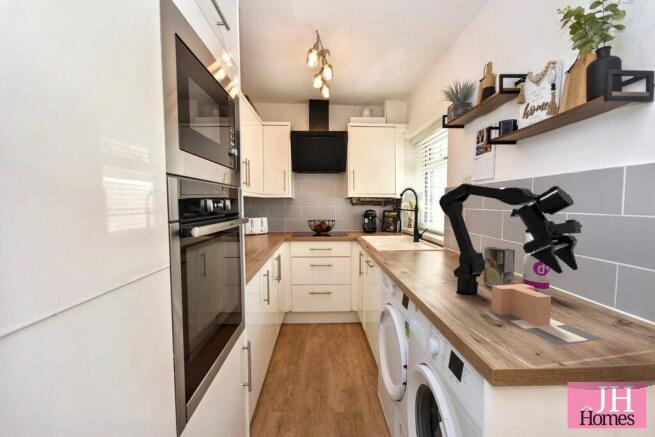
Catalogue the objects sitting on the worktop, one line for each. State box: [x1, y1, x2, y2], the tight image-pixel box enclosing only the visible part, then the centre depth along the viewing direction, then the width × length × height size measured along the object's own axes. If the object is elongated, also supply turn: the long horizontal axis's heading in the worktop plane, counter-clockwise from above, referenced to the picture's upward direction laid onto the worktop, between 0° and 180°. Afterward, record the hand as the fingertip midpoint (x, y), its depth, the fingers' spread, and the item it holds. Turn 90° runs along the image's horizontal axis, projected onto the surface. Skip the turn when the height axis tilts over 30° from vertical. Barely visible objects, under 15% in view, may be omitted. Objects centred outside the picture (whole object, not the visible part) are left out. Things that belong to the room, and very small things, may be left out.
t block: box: [490, 283, 552, 326], centre depth 80 cm, size 12×12×8 cm
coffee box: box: [483, 246, 516, 288], centre depth 111 cm, size 9×6×16 cm
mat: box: [485, 309, 605, 346], centre depth 76 cm, size 22×15×1 cm
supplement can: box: [521, 253, 551, 296], centre depth 103 cm, size 8×8×15 cm
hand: (568, 271), depth 76 cm, fingers open, 9 cm apart
